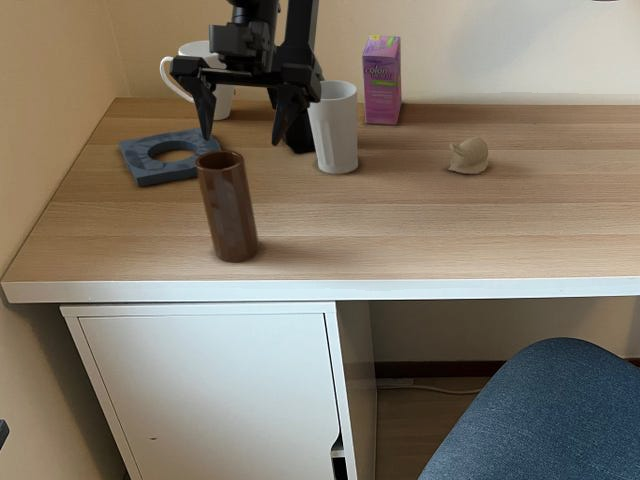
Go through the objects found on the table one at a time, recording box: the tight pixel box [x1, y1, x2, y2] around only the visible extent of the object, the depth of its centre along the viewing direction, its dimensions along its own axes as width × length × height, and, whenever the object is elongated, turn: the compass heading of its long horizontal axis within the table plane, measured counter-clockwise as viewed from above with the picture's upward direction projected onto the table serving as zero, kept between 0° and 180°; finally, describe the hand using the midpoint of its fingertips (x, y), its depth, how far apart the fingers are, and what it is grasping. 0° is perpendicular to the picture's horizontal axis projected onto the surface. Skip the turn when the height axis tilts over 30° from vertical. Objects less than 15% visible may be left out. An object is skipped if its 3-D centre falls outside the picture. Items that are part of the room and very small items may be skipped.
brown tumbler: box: [195, 149, 260, 263], centre depth 101 cm, size 6×6×13 cm
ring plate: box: [117, 126, 222, 188], centre depth 124 cm, size 14×14×2 cm
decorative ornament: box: [447, 136, 490, 175], centre depth 123 cm, size 4×8×5 cm, turn 129°
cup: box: [307, 79, 359, 175], centre depth 121 cm, size 8×8×12 cm
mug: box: [159, 40, 235, 121], centre depth 133 cm, size 12×8×11 cm
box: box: [361, 34, 403, 126], centre depth 137 cm, size 10×6×12 cm, turn 179°
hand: (239, 142), depth 102 cm, fingers open, 9 cm apart
